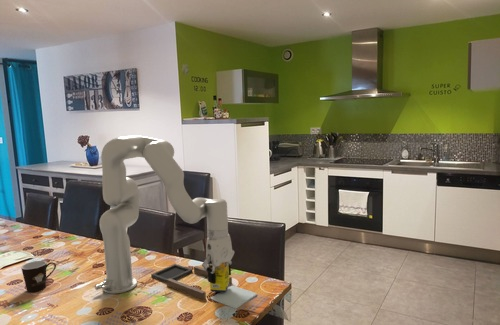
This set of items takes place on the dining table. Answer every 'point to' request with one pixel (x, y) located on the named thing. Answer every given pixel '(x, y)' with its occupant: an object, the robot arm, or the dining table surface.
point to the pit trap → (171, 273)
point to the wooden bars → (190, 289)
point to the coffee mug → (35, 275)
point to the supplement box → (221, 278)
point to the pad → (234, 296)
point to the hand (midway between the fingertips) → (219, 278)
